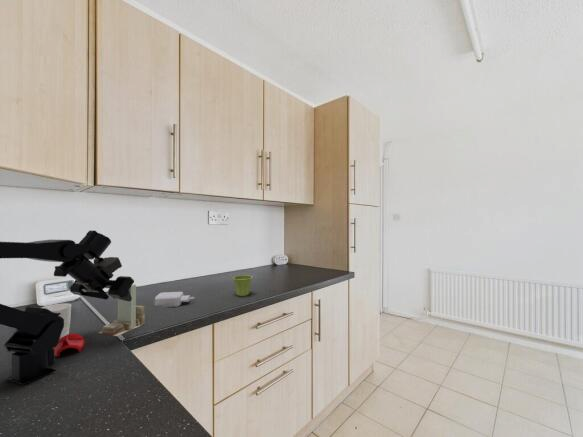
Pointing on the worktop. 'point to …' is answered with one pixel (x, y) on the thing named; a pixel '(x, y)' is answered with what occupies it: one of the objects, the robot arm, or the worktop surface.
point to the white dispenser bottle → (171, 299)
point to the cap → (69, 343)
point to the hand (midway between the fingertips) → (119, 299)
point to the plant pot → (242, 284)
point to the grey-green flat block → (128, 308)
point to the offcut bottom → (113, 331)
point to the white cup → (62, 315)
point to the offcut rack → (139, 320)
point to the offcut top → (113, 326)
